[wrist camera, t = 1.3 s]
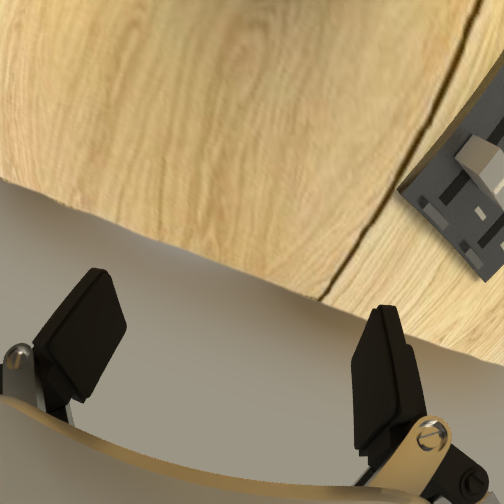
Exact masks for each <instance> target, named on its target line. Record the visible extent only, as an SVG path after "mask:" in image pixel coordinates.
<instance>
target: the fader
mask: <svg viewBox="0 0 504 504" xmlns="http://www.w3.org/2000/svg"><path fill="white" fill-rule="evenodd" d="M455 159H456V161H457V162H458V163H459V164H460V165H461V166H462V168H463V169H464V170H465V171H466V173H467V174H468V175H469V176H470V177H471V179H472V180H473V181H474V183H475V184H476V185H477V186H478V188H479V189H480V190H481V191H482V192H483V193H484V194H486V195H487V196H488V197H489V198H490V199H491V200H492V201H494V202H495V203H496V204H497V205H498V206H499V207H500V208H501V209H502V210H503V211H504V153H503V151H502V150H501V148H499V147H497V146H495V145H494V144H492V143H490V142H488V141H486V140H484V139H482V138H480V137H477V136H475V135H472V136H471V137H470V139H469V140H468V141H467V143H466V144H465V145H464V146H463V148H462V149H461V150H460V151H459V153H458V154H457V155H456V156H455Z"/></svg>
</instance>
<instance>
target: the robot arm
mask: <svg viewBox="0 0 504 504" xmlns="http://www.w3.org/2000/svg"><path fill="white" fill-rule="evenodd" d="M126 328H127V325H126V321H125V319H124V315H123V313H122V310H121V307H120V304H119V301H118V298H117V294H116V291H115V288H114V285H113V281H112V278H111V276H110V275H109V274H108V272H107V271H106V270H104V269H98V268H91V269H90V270H89V271H88V272H87V273H86V274H85V276H84V277H83V278H82V279H81V281H80V282H79V283H78V284H77V285H76V286H75V287H74V289H73V290H72V291H71V292H70V293H69V295H68V296H67V297H66V298H65V300H64V301H63V302H62V303H61V305H60V306H59V307H58V308H57V310H56V311H55V312H54V313H53V315H52V316H51V318H50V319H49V320H48V321H47V323H46V324H45V325H44V327H43V328H42V329H41V331H40V332H39V333H38V335H37V336H36V337H35V339H34V340H33V342H32V343H33V344H34V347H33V348H31V347H30V345H28V344H25V343H19V344H16V345H14V346H12V347H11V348H10V349H9V350H8V351H7V352H6V354H5V356H4V360H3V364H0V504H500V503H499V501H498V499H497V498H496V496H495V495H494V493H493V491H491V492H489V491H488V486H489V478H488V475H487V472H486V471H485V470H484V469H483V468H482V467H481V466H480V465H478V464H477V463H476V462H474V461H473V460H472V459H471V458H469V457H468V456H467V455H465V454H464V453H463V452H462V451H460V450H459V449H457V448H456V447H455V446H454V445H452V444H451V441H452V433H451V430H450V427H449V426H448V424H447V423H446V422H445V421H444V420H443V419H442V418H439V417H437V416H431V415H430V416H427V411H426V406H425V401H424V395H423V390H422V385H421V381H420V377H419V372H418V368H417V363H416V359H415V355H414V351H413V348H412V347H411V345H409V344H406V342H405V337H404V333H403V329H402V326H401V322H400V318H399V315H398V311H397V308H396V306H392V305H379V306H378V307H377V309H372V311H371V314H370V316H369V319H368V321H367V324H366V326H365V329H364V331H363V334H362V336H361V338H360V341H359V343H358V345H357V348H356V350H355V352H354V355H353V357H352V361H351V373H352V389H353V412H354V447H355V449H356V450H359V456H368V465H369V467H368V468H367V469H366V471H365V472H364V473H363V474H362V475H361V476H360V477H359V478H358V480H357V481H356V482H355V483H354V484H353V485H352V486H316V485H299V484H285V483H274V482H265V481H257V480H250V479H243V478H237V477H231V476H225V475H220V474H215V473H210V472H205V471H201V470H197V469H192V468H188V467H184V466H180V465H177V464H173V463H169V462H166V461H162V460H159V459H156V458H153V457H149V456H146V455H143V454H140V453H137V452H134V451H132V450H129V449H126V448H123V447H121V446H118V445H115V444H113V443H110V442H108V441H105V440H103V439H101V438H98V437H96V436H93V435H91V434H89V433H87V432H84V431H82V430H80V429H78V428H76V427H75V426H74V421H73V417H72V413H71V408H70V404H69V401H70V399H71V398H72V399H74V400H76V401H78V402H80V403H84V402H85V400H86V398H89V397H90V396H91V394H92V392H93V390H94V388H95V387H96V384H97V383H98V381H99V379H100V377H101V375H102V373H103V371H104V370H105V368H106V366H107V364H108V362H109V361H110V359H111V357H112V355H113V353H114V352H115V350H116V348H117V346H118V344H119V343H120V341H121V339H122V337H123V336H124V334H125V332H126Z"/></svg>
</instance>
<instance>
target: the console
mask: <svg viewBox="0 0 504 504" xmlns="http://www.w3.org/2000/svg"><path fill="white" fill-rule="evenodd" d="M472 135H475V136H477V137H480V138H482V139H484V140H486V141H488V142H490V143H492V144H494V145H495V146H497V147H499V148H501V150H502V151H503V153H504V51H503V52H502V54H501V55H500V57H499V58H498V60H497V61H496V63H495V64H494V65H493V67H492V68H491V70H490V71H489V73H488V74H487V75H486V77H485V78H484V80H483V81H482V82H481V84H480V85H479V87H478V88H477V89H476V91H475V92H474V93H473V95H472V96H471V98H470V99H469V100H468V102H467V103H466V104H465V106H464V107H463V108H462V110H461V111H460V112H459V113H458V115H457V116H456V117H455V119H454V120H453V121H452V122H451V124H450V125H449V126H448V128H447V129H446V130H445V131H444V133H443V134H442V135H441V136H440V138H439V139H438V140H437V141H436V143H435V144H434V145H433V146H432V148H431V149H430V150H429V151H428V152H427V154H426V155H425V156H424V157H423V158H422V160H421V161H420V162H419V163H418V164H417V166H416V167H415V168H414V169H413V170H412V172H411V173H410V174H409V175H408V176H407V177H406V179H405V180H404V181H403V182H402V183H401V184H400V185H399V187H398V188H397V190H398V191H399V193H400V194H401V195H402V196H403V197H404V198H405V199H406V200H407V201H408V202H409V203H410V204H411V205H412V206H414V207H415V208H416V209H417V210H418V211H419V212H420V213H421V214H422V215H423V216H424V217H425V218H426V219H427V220H428V221H429V222H430V223H431V224H432V225H433V226H434V227H435V228H436V229H437V230H438V231H439V232H440V233H441V234H442V235H443V236H444V237H445V238H446V239H447V240H448V241H449V242H450V243H451V245H452V246H453V247H454V248H455V249H456V250H457V251H458V252H459V253H460V254H461V255H462V257H463V258H464V259H465V260H466V261H467V262H468V263H469V265H470V266H471V267H472V268H473V269H474V270H475V271H476V273H477V274H478V275H479V276H480V277H481V279H482V280H483V281H484V282H485V283H486V282H487V281H488V280H489V279H490V278H491V277H492V276H493V275H494V274H495V273H496V272H497V271H498V270H499V269H500V268H501V267H502V266H503V265H504V211H503V210H502V209H501V208H500V207H499V206H498V205H497V204H496V203H495V202H494V201H492V200H491V199H490V198H489V197H488V196H487V195H486V194H484V193H483V192H482V191H481V190H480V189H479V188H478V186H477V185H476V184H475V183H474V181H473V180H472V179H471V177H470V176H469V175H468V174H467V173H466V171H465V170H464V169H463V168H462V166H461V165H460V164H459V163H458V162H457V161H456V159H455V156H456V155H457V154H458V153H459V151H460V150H461V149H462V148H463V146H464V145H465V144H466V143H467V141H468V140H469V139H470V137H471V136H472Z"/></svg>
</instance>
